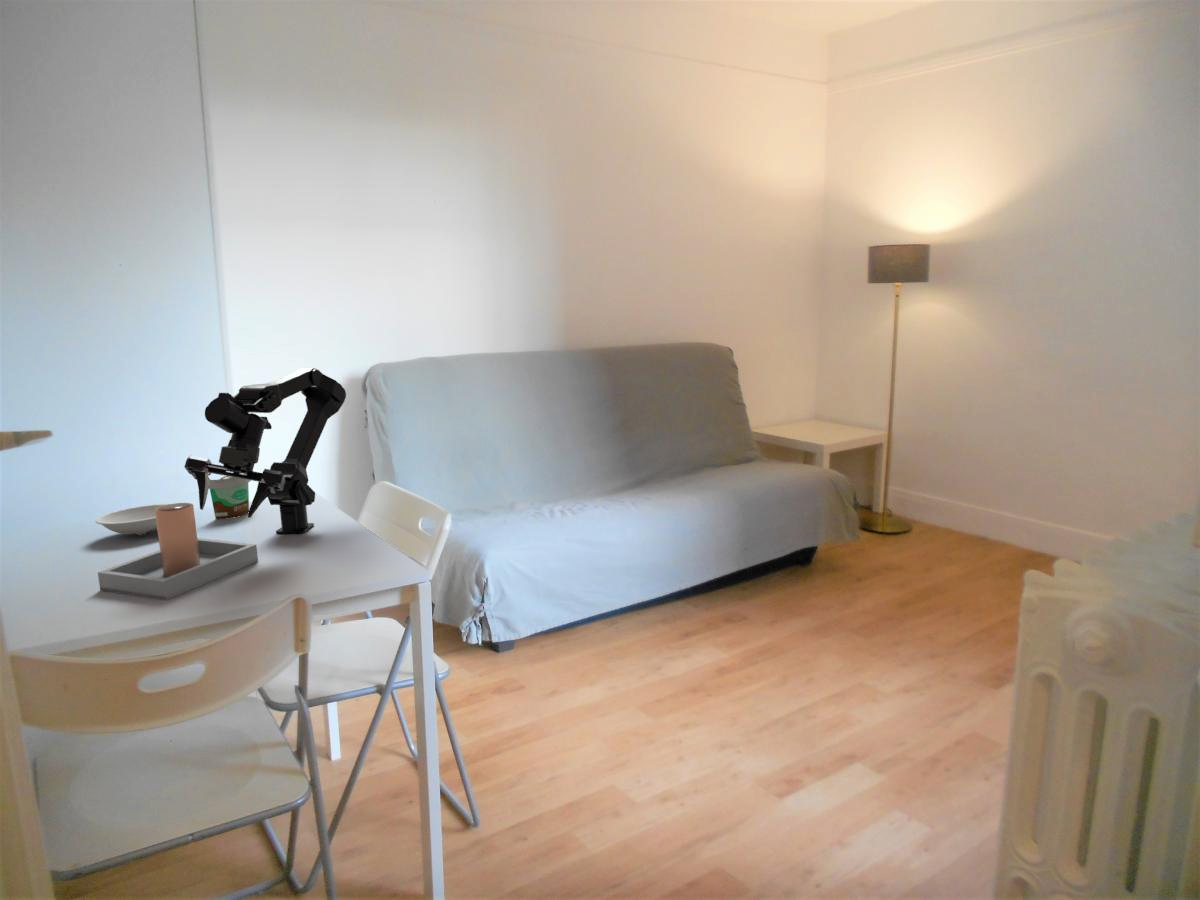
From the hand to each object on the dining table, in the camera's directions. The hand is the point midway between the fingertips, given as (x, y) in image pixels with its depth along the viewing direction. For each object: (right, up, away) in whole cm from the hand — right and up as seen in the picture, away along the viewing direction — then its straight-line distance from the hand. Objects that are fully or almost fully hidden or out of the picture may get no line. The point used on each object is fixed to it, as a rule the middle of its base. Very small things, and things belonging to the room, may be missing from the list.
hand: (225, 513), depth 169 cm
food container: (-13, -3, +37) cm, 39 cm away
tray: (-5, -12, -7) cm, 14 cm away
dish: (-29, -7, +22) cm, 37 cm away
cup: (-5, -11, -7) cm, 14 cm away
